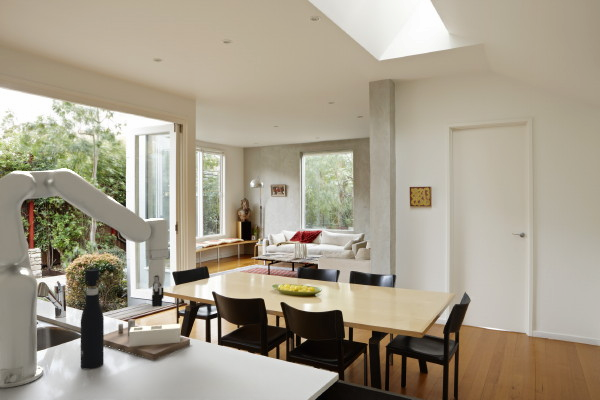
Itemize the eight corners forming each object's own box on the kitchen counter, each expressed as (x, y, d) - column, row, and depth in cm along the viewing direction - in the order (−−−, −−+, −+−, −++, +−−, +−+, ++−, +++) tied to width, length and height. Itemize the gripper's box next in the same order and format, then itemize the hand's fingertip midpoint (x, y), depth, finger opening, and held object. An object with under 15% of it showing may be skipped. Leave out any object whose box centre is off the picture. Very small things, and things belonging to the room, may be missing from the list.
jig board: (189, 344, 148) (190, 323, 148) (154, 360, 134) (154, 337, 134) (133, 330, 163) (133, 311, 162) (95, 342, 149) (95, 322, 148)
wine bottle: (107, 361, 133) (107, 268, 132) (95, 369, 126) (96, 271, 126) (88, 360, 133) (88, 267, 133) (76, 368, 127) (76, 271, 126)
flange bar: (180, 337, 149) (180, 323, 149) (180, 342, 144) (180, 328, 144) (130, 341, 145) (131, 327, 145) (129, 346, 140) (129, 331, 140)
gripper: (147, 250, 152) (148, 297, 152) (143, 258, 135) (144, 310, 135) (169, 249, 154) (170, 295, 154) (167, 257, 137) (168, 308, 137)
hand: (158, 302), depth 145 cm, fingers open, 9 cm apart
